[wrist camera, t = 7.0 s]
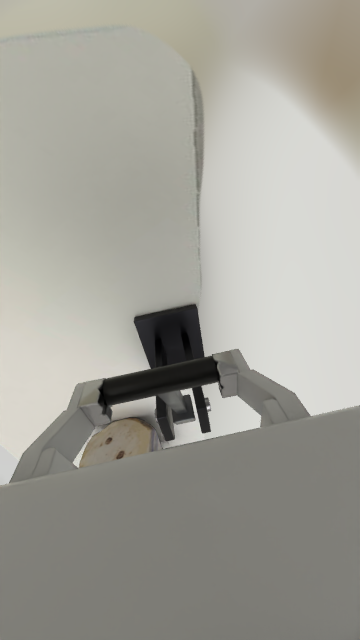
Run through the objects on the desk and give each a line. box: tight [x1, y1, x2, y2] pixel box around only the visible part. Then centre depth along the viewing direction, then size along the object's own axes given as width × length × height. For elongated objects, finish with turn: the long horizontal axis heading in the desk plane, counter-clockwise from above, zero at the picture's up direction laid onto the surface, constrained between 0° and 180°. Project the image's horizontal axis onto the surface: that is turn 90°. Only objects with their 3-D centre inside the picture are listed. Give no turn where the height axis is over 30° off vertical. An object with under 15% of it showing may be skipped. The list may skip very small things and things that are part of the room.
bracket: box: [134, 304, 211, 441], centre depth 27 cm, size 12×9×14 cm
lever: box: [103, 356, 218, 425], centre depth 17 cm, size 15×6×2 cm, turn 10°
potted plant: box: [79, 418, 162, 468], centre depth 40 cm, size 18×18×30 cm
